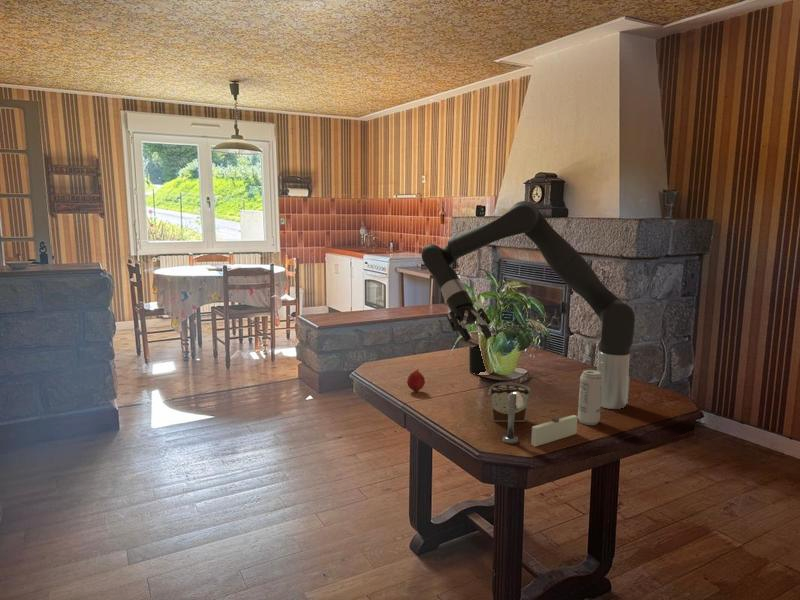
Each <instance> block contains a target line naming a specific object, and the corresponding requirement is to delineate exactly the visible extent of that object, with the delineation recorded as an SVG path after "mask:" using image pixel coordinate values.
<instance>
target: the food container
mask: <svg viewBox="0 0 800 600" xmlns="http://www.w3.org/2000/svg"><path fill="white" fill-rule="evenodd" d="M517 391H518V392H520V393H521V394H522V395H523V397H524V406H523V407H522V408H519V409H515V416H514V423H515V422H526V416H527V410H528V405H529V404H528V403H529V397H530V396H532V393H531V392H532V390H531V387H528V385H525V384H522V383H517V382H504V381H503V382H497V383H493V384H491V386H490V388H489V390H488V396H490V403H491V404H490V405H491V415H492V416H491V417H492V419H491V420H492V422H499V423H500V422H504V423H505V422H507V423H508V411H509V402H508V396H509V393H512V392H517Z"/></svg>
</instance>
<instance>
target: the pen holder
mask: <svg viewBox="0 0 800 600" xmlns="http://www.w3.org/2000/svg"><path fill="white" fill-rule="evenodd" d="M468 351H469V358H468V359H469V363H468V364H469V372H470V373H471V372H472V373H475V374H479V373H480V372H485V371H486V369H485V366H484V363H483V359H482V356H481V351H480V348H479V344H477V345H474V346H469V349H468ZM472 373H471V374H472Z"/></svg>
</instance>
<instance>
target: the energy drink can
mask: <svg viewBox="0 0 800 600" xmlns="http://www.w3.org/2000/svg"><path fill="white" fill-rule="evenodd" d="M600 374H601V373H600V372H599V371H597V369H596V370H594V369H584V370H582V373H581V375H580V377H579V394H578V409H577V416H578V418H577V420H579V422H580V423H581V424H583V425H586V426H595V425H598V423H599V422H600V419H601V408H602V407H601V394H602V380H603V379H602V377H601V375H600Z"/></svg>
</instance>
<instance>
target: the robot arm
mask: <svg viewBox="0 0 800 600" xmlns="http://www.w3.org/2000/svg"><path fill="white" fill-rule="evenodd" d="M521 234H524V235H525V236H527V237H528V239H529V240H531V241H532V242H533V243H534V245H535V246H536V247H537V248H538V250H539V251H540V254H541V256H542V257H543V258H544V260H545V261H546V263H547V265H548V266H549V267H550V269H551V270H552V271H553V273H555V274H556V276H558V277H559V279H560V280H561V281H562V282H564V284H565V285H566V286H568V287H569V288H570V289H571V290H572V291H574V292H575V293H576V294H577V295H579V296H580V297H581V298H583V300H584V301H585V302H586V303H587V304H588V305H589V306H590V308H591V309H592V310H593V311H594V313H595V314H596V316H597V317H598V318H599V320H600V322H601V326H602V327H601V336H600V341H599V342H598V353H597V365H596V366H597V367H596V371H599V372H600V373H601V374H600V375H601V377H602V379H603V380H602V394H601V408H603V409H608V410H609V409H610V410H622V409H621V408H623V409H624V407H625V406H626V407H627V405H628V400H629V389H630V378H631V377H630V375H629V371H630V370H629V369H630V358H631V349H632V346H633V343H634V342H633V341H634V340H633V339H634V333H635V332H634V331H635V324H636V323H635V321H636V316H635V312H634V310H633V308H632V307H631V306H629V304H627V303H626V302H625V301H622V300H621V299H620V298H619V297H617V296H616V294H614V293H613V292H612V291H610V290H609V289H608V288H607V287H606V286H605V284H603V282H602V281H601V280H600V278H599V277H598V275H597V274H596V272H595V271H594V269H593V268H592V266H591V265H590V263H588V261H587V260H585V258H584V257H583V256H582V255H581V253H579V251H577V250H576V249H575V248H574V247H573V246H572V245H571V244H570V243H569V242H568V241H567V240H566V239H565V238H564V237H562V235H560V234H559V233H558V232H557V231H556V230H555V229H554V228H553V227H552V226H551V225H550V223H549V222H548V220H547V219H546V218H545V217H544V216H543V214H542V213H541V211H540V210H539V208H538V207H537V206H536V205H535V204H534V203H532V202H531V201H527V200H522V201H521V200H520V201H518V202H516V203H515V204H513V205H512V206H511V208H510V209H509V210H507V211H506V212H505V213H503V214H502V215H500V216H499V217H496V219H494V220H492V221H489V222H487V223H485V224H482V225H478V226H476V227H474V228H470V229H468V230H466V231H463V232H461V233H459V234H457V235H455V236H452V237H450V238H449V239H448V241H447V245H446V246H443V247H440V246H438V245H437V244H433V243H432V244H431V243H429V244H427V245H425V246H424V247H423V248H422V250H421V260H422V262H423V264H424V265H425V267H426V269H428V271H429V273H430V274H431V275H432V277H433V278H434V279H435V282H436V283H437V286H438V287H439V290H440V291H441V294H442V296H443V299H444V301H445V303H446V305H447V307H448V309H449V310H450V312H448V314H447V315H446V318H447V321H448V323H449V325H450V328H451V330H452V331H453V332H458V333H460V335H461V337H462V339H463V341H465V342H466V343H469V342H470V341H471V340H472V337H471V335H470V333H469V331H468V329H467V328H466V326H468V325H473V326H475V327H478V328H479V329H480V330H481V332H482V335H483V336H484V338H485V340H489V339H490V338H491V337H492V332H491V330H490V329H489V327H488V326H489V325H490V324H491V323H492V322H491V320H490V318H489V316H488V315H487V314H486V312H485V310H484V308H482V307H480V308H479V309H475V308H474V302H473V300H472V298H471V296H470V294H469V292H468V291H467V289H466V286H465V285H464V284H463V282H462V281H461V280H460V277H459V276H458V274H457V272H456V271H455V269H454V268H453V267H452V266H451V265H452V264H453V263H455V262H456V261H458V259H460V258H462V257H464V256H466V255H468V254H470V253H473V252H476V251H477V250H480V249H482V248H483V247H485V246H488V245H491V244H493V243H495V242H497V241H499V240H503V239H505V238H509V237H512V236H516V235H521ZM626 404H627V405H626ZM626 407H625V408H626Z"/></svg>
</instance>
